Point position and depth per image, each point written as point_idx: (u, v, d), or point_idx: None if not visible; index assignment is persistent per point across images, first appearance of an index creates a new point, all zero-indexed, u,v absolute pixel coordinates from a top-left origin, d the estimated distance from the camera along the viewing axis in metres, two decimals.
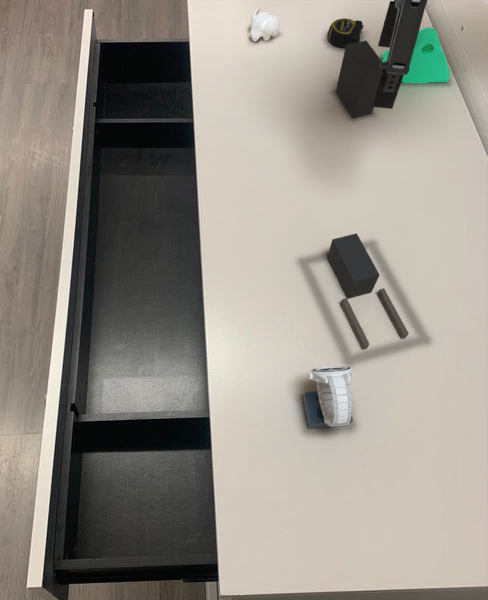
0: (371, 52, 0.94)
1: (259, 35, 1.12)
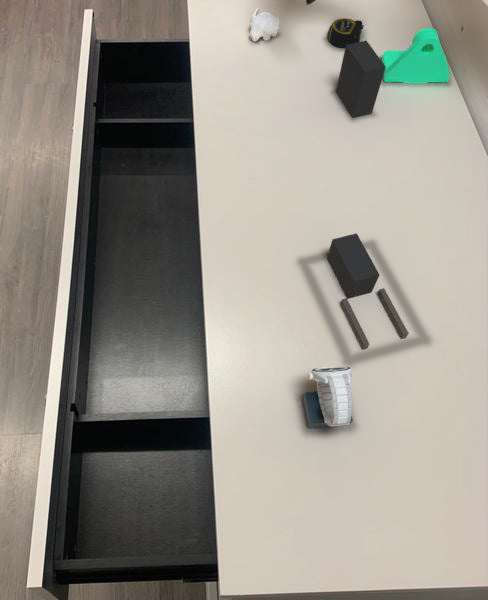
0: (371, 52, 0.94)
1: (259, 35, 1.12)
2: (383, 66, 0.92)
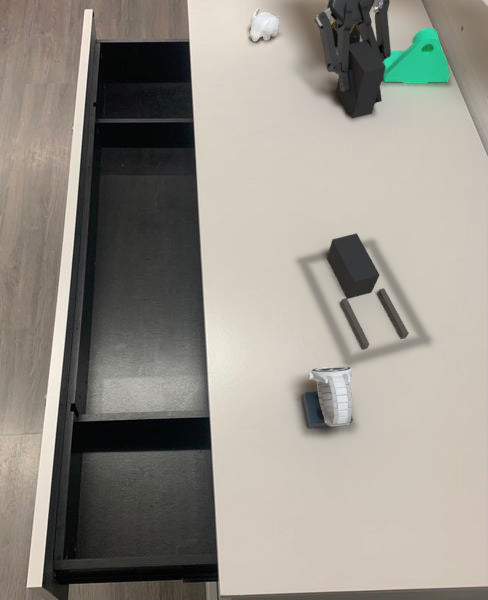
0: (371, 51, 0.94)
1: (259, 35, 1.12)
2: (383, 66, 0.92)
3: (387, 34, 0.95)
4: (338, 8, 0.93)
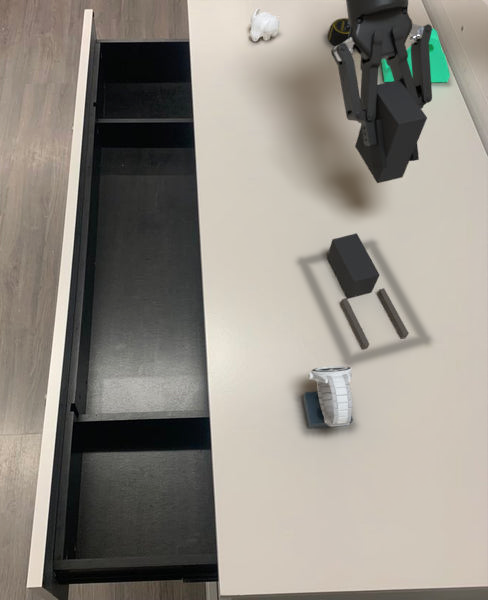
0: (406, 96, 0.71)
1: (259, 35, 1.12)
2: (424, 117, 0.69)
3: (428, 72, 0.72)
4: (363, 38, 0.69)
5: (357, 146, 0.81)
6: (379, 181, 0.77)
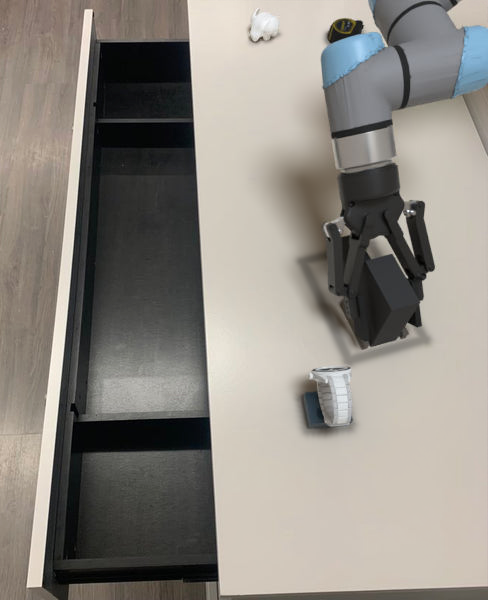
0: (399, 274, 0.70)
1: (259, 35, 1.12)
2: (417, 301, 0.68)
3: (427, 244, 0.71)
4: (355, 221, 0.69)
5: None
6: (372, 345, 0.76)
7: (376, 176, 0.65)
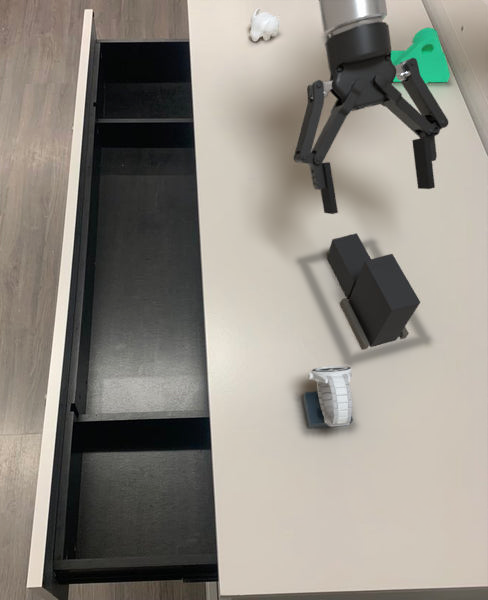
0: (399, 274, 0.70)
1: (259, 35, 1.12)
2: (417, 301, 0.68)
3: (432, 100, 0.67)
4: (344, 87, 0.65)
5: (350, 303, 0.80)
6: (372, 345, 0.76)
7: (366, 32, 0.62)
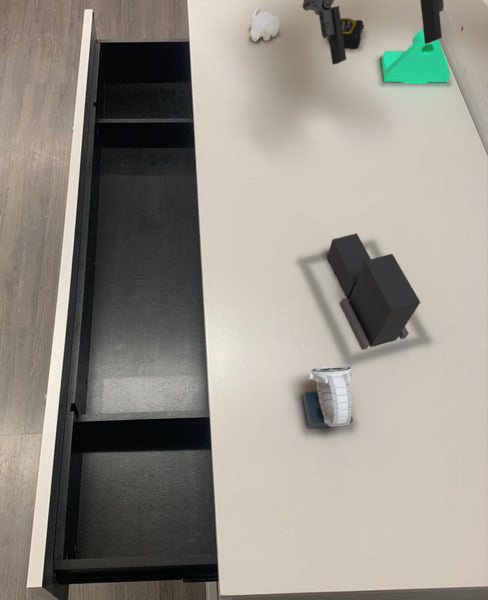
0: (399, 274, 0.70)
1: (259, 35, 1.12)
2: (417, 301, 0.68)
3: None
4: None
5: (350, 303, 0.80)
6: (372, 345, 0.76)
7: None
